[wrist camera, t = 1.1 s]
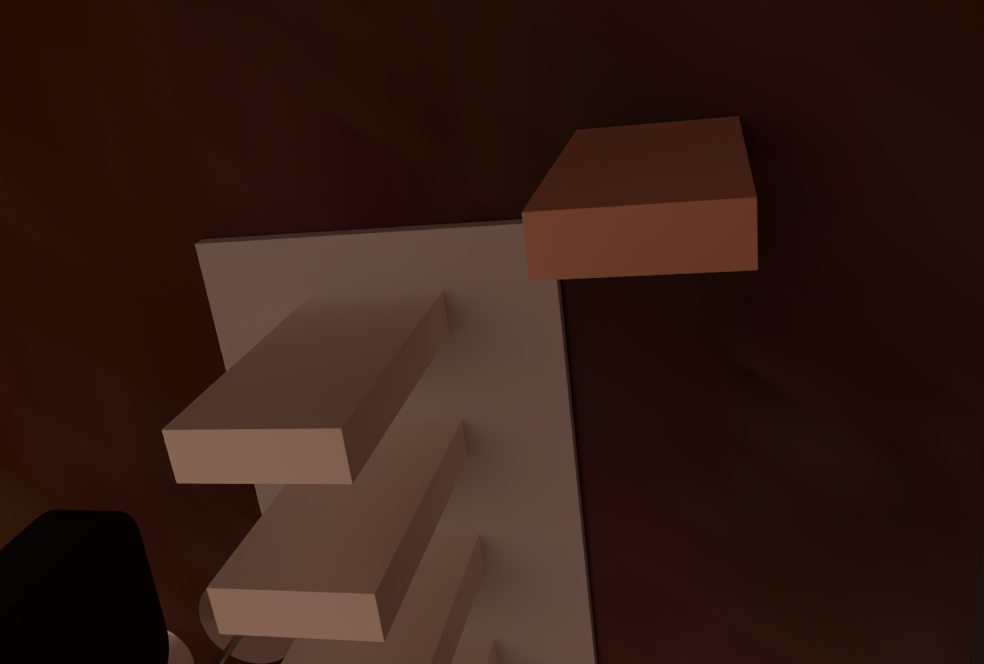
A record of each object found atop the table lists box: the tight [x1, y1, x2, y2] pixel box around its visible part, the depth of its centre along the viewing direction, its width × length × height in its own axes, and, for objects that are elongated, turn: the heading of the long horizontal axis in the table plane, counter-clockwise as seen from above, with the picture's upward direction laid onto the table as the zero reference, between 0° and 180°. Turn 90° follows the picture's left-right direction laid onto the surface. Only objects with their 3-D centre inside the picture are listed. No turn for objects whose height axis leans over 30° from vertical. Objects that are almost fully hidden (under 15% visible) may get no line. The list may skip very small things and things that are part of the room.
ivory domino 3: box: [281, 534, 484, 664], centre depth 32 cm, size 5×2×10 cm, turn 97°
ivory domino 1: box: [162, 291, 449, 484], centre depth 28 cm, size 5×2×10 cm, turn 97°
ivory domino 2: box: [207, 419, 468, 642], centre depth 30 cm, size 5×2×10 cm, turn 97°
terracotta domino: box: [522, 116, 758, 281], centre depth 24 cm, size 5×2×10 cm, turn 97°
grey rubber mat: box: [195, 219, 597, 664], centre depth 38 cm, size 13×34×1 cm, turn 7°
